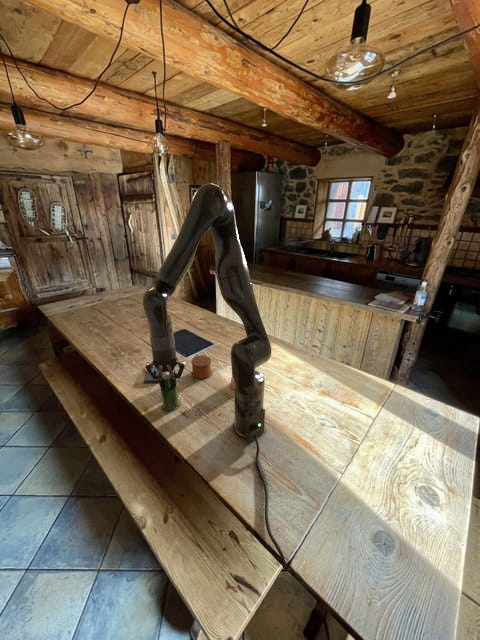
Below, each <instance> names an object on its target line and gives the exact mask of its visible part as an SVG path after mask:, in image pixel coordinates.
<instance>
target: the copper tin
mask: <svg viewBox="0 0 480 640" xmlns="http://www.w3.org/2000/svg"><path fill="white" fill-rule="evenodd" d="M190 363H191V369H192V376H193V377H194V378H195V379H198V380H203V379H207V378H209V377H210V376H211V375H212V359H211V357H210V356H208V355H197V356H194V357H193V358H192V359H191V362H190Z"/></svg>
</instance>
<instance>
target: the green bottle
mask: <svg viewBox="0 0 480 640" xmlns="http://www.w3.org/2000/svg"><path fill="white" fill-rule="evenodd" d="M171 380H172V378H171V375H170V374H164V376H163V382H164V389H162V387H160V396H161V401H162V407H163V409H164V410H166V411H173V410H175V409H177V408H178V407H179V405H180V404H179V402H180V401H179V394H178V393H179V392H178V385H177V384H176V387H175V388H172V382H171Z"/></svg>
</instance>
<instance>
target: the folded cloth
mask: <svg viewBox="0 0 480 640" xmlns="http://www.w3.org/2000/svg"><path fill="white" fill-rule="evenodd" d="M154 369H155V370H156V372H157V373H159V370H158V369H157V368H156V367H155V366H154ZM165 374H166V372H163V376H164V375H165ZM143 381H144V384H148V383H149V384H151V383H159V380H158V379H153V378H152V377H151V375H150V374H149V372H148V371H147V373H146V375H145V377H144V379H143Z"/></svg>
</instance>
